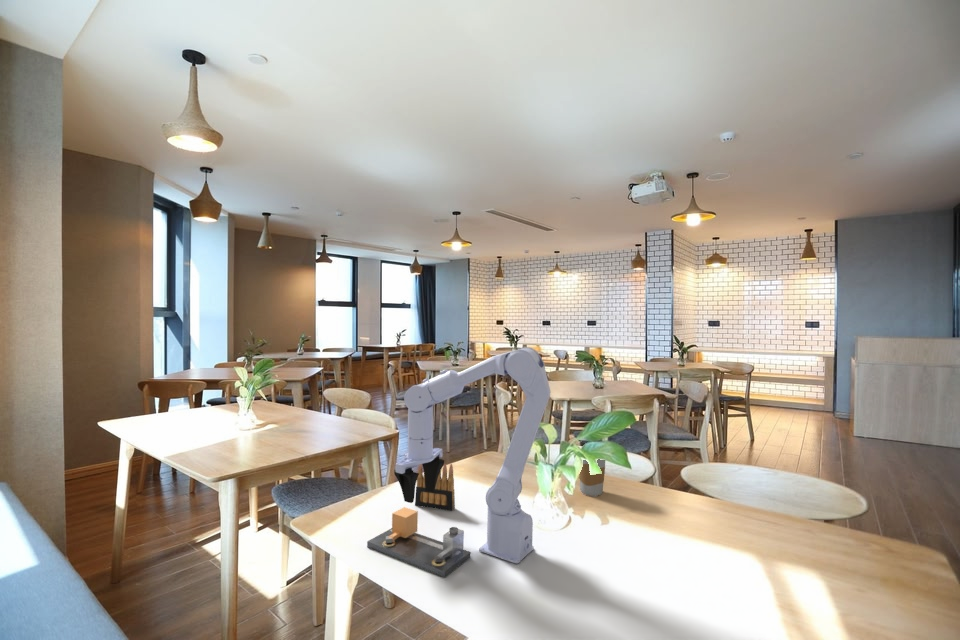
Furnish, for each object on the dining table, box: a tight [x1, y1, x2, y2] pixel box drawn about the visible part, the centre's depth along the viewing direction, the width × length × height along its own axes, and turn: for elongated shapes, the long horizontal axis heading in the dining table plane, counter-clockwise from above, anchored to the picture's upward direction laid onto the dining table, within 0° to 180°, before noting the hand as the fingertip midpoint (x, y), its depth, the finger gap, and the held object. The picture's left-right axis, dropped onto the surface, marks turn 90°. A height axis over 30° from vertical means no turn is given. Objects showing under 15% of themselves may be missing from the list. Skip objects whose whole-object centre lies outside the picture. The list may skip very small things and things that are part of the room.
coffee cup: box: [578, 441, 606, 497], centre depth 133 cm, size 8×8×15 cm
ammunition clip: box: [414, 462, 456, 512], centre depth 121 cm, size 11×2×12 cm, turn 73°
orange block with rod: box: [386, 507, 419, 543], centre depth 101 cm, size 4×8×4 cm, turn 148°
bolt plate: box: [366, 526, 471, 579], centre depth 98 cm, size 21×9×6 cm, turn 58°
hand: (419, 496), depth 105 cm, fingers open, 7 cm apart
